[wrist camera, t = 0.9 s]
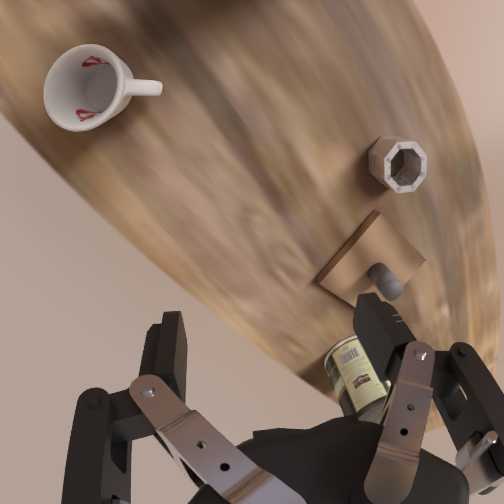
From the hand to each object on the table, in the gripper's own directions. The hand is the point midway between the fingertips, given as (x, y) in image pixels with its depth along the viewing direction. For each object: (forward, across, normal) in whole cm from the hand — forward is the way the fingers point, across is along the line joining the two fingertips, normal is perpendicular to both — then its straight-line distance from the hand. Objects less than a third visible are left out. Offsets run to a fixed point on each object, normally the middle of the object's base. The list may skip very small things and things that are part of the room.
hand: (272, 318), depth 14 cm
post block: (+24, -18, +13) cm, 33 cm away
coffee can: (+24, -18, +31) cm, 43 cm away
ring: (+24, -19, -2) cm, 31 cm away
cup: (+24, +12, -11) cm, 29 cm away
